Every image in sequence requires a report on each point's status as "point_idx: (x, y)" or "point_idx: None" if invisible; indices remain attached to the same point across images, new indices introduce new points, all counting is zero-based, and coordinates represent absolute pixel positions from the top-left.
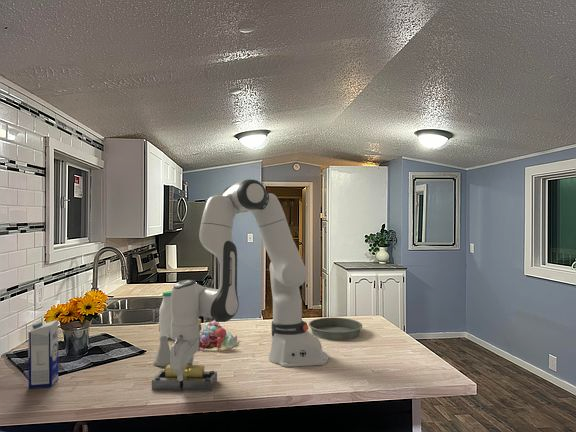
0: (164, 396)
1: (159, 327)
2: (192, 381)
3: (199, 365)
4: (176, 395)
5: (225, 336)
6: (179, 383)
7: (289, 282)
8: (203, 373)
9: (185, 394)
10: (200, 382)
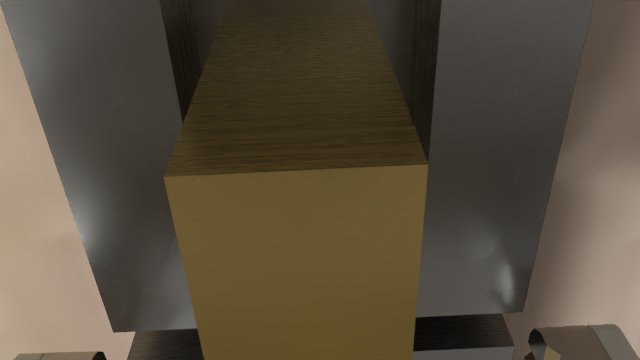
0: (623, 331)
1: None
2: (547, 179)
3: (198, 291)
4: (624, 239)
5: None
6: (502, 318)
7: None
8: (284, 80)
9: (615, 154)
10: (577, 25)
